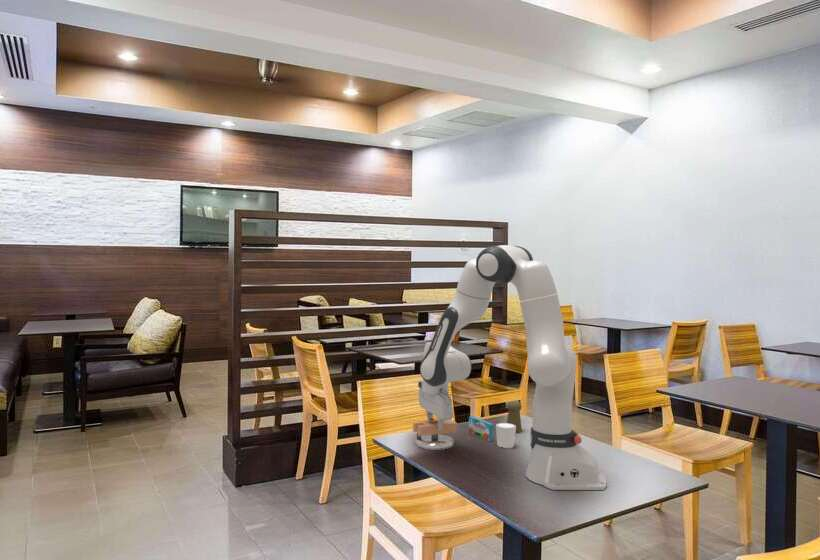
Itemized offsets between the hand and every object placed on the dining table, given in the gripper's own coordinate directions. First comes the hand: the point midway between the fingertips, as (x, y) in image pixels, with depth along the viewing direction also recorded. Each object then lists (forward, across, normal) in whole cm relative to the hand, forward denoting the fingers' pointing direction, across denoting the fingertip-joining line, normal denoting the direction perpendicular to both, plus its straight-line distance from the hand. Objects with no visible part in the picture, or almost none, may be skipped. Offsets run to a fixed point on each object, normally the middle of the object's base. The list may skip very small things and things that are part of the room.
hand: (435, 426), depth 192 cm
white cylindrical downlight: (+6, -9, -22) cm, 25 cm away
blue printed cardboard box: (+6, +2, -19) cm, 20 cm away
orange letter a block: (+2, 0, 0) cm, 2 cm away
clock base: (+6, 0, 0) cm, 6 cm away
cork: (+6, +4, -34) cm, 35 cm away
